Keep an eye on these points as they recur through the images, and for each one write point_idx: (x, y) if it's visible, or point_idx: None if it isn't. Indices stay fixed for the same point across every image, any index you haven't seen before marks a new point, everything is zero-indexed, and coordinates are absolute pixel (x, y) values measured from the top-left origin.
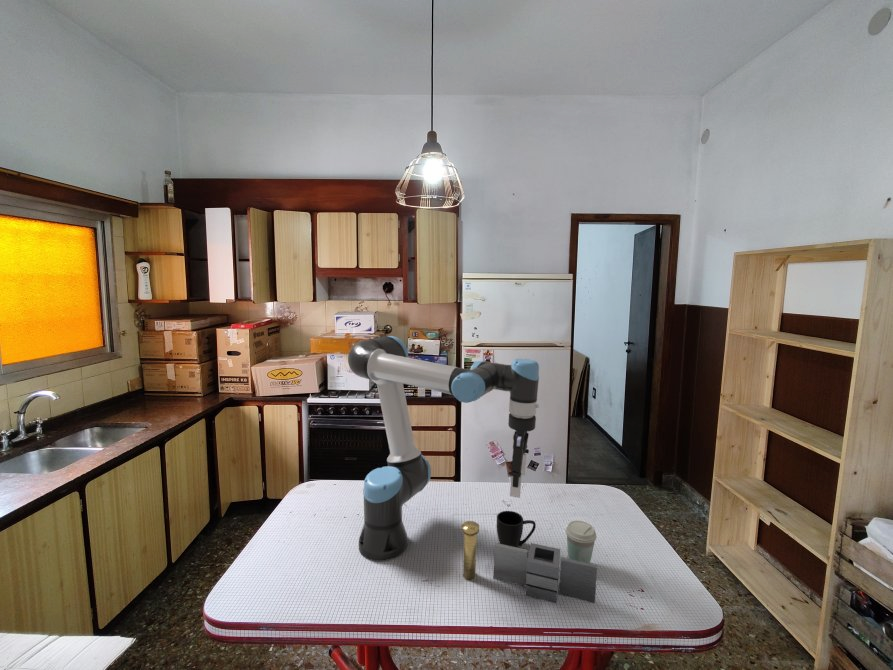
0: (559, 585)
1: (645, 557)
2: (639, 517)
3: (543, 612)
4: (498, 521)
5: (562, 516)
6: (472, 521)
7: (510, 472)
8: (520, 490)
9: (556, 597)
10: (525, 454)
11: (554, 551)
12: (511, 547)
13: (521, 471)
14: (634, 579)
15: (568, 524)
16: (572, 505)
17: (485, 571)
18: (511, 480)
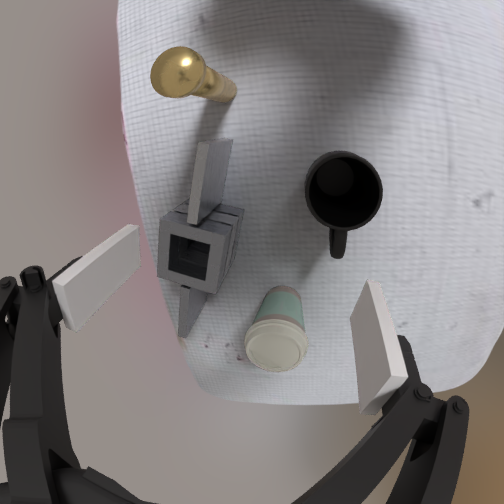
0: None
1: (307, 384)
2: None
3: None
4: (328, 156)
5: (426, 305)
6: (199, 72)
7: (23, 281)
8: (123, 281)
9: None
10: (367, 412)
11: (204, 281)
12: (197, 185)
13: (357, 315)
14: None
15: (285, 335)
16: (451, 327)
17: (242, 121)
18: (78, 263)
